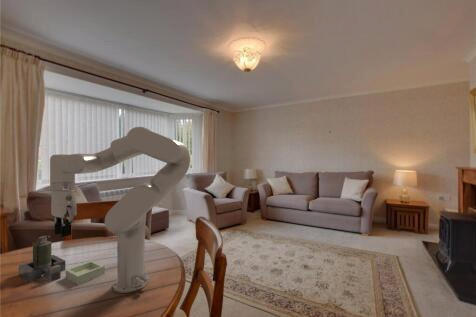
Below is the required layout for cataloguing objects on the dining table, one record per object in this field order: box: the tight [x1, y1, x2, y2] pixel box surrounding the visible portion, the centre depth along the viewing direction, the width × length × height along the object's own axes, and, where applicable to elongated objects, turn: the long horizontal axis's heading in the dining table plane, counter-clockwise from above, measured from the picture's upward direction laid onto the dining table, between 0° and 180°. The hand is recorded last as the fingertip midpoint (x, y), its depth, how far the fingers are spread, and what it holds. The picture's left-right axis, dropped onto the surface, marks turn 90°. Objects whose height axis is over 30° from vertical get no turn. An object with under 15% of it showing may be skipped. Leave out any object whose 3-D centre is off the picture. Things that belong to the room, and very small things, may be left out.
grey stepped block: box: [42, 265, 62, 283], centre depth 92 cm, size 8×4×5 cm, turn 58°
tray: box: [65, 260, 106, 286], centre depth 94 cm, size 10×10×3 cm
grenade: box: [31, 235, 52, 276], centre depth 97 cm, size 6×6×15 cm
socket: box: [18, 254, 66, 284], centre depth 97 cm, size 12×12×4 cm
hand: (62, 234), depth 87 cm, fingers open, 4 cm apart
